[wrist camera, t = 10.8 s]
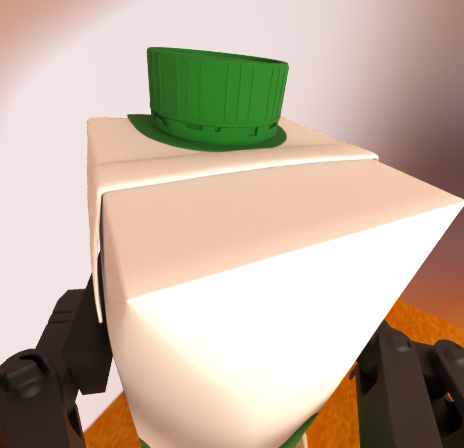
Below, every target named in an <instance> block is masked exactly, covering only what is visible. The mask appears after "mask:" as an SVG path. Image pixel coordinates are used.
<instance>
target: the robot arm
mask: <svg viewBox="0 0 464 448" xmlns="http://www.w3.org/2000/svg"><path fill="white" fill-rule="evenodd" d="M97 276H98V285H99V294H100V303H101V312H102V323H100V322H99V318H98V313H97V308H96V302H95V294H94V286H93V277H92V273H91V276H90V279H89V281H88V284H87V287H86V289H75V290H68V291H67V292H66V293H65V294H64V295H63V296H62V297H61V298H60V299H59V300H58V302H57V304H56V306H55V308H54V310H53V312H52V313H53V314H52V315H51V316H50V318H49V321H48V324H47V325H46V327H45V329H44V331H43V333H42V336H41V338H40V340H39V342H38V344H37V346H36V348H35V349H27V350H24V351H21V352H18V353H17V354H15V355H13V356H11V357H9V358H8V359H7V360H6V361H5V362H4V363H3V364H1V365H0V448H86V445H85V440H84V436H83V431H82V426H81V422H80V417H79V412H78V408H77V405H76V403H75V400H76V397H77V394H78V390H79V389H80V391H81V393H82V395H87V394H95V393H102V392H105V390H106V386H107V381H108V376H109V371H110V367H111V362H112V358H113V353H112V348H111V343H110V339H109V334H108V327H107V320H106V311H105V300H104V288H103V277H102V262H101V250H100V252H99V255H98V258H97ZM356 361H357V365H356V366H355V367H354V369H353V370H352V372H351V373H350V375H349V379H350V380H352V379H353V377H354V376H356V380H355V381H356V391H357V406H358V420H359V435H360V448H464V348H463V347H461V346H460V345H458V344H456V343H454V342H452V341H449V340H445V339H444V340H439V341H437V342H436V343H435V344H434V345H433V346H432V345H427V344H423V343H418V342H414V341H411V340H410V339H409V338H408V337H407V336H406V335H405V334H403V333H402V332H400V331H398V330H396V329H393V328H391V327H390V326H389V325H388V323H387V322H386V320H385V319H383V320H382V322H381V323H380V325H379V326H378V328H377V329H376V331H375V332H374V334H373V335H372V337H371V338H370V340H369V341H368V342H367V344H366V345H365V347H364V348H363V350H362V351H361V353H360V354H359V356H358V357H357V359H356ZM447 393H449V394H450V395H451V397H452V399H453V401H452V400H451V399H450V398H449V396H448V394H447Z"/></svg>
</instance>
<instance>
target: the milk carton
mask: <svg viewBox="0 0 464 448" xmlns="http://www.w3.org/2000/svg"><path fill="white" fill-rule="evenodd" d="M147 62H148V76H149V92H150V108H151V115H144V114H128V115H127V116H128V118H105V117H104V118H89V119H88V120H87V136H88V155H87V156H88V157H87V183H88V184H87V185H88V212H89V225H90V249H91V264H92V277H93V286H94V294H95V302H96V308H97V313H98V318H99V322H100V323H102V312H101V303H100V294H99V285H98V276H97V247H98V233H99V238H100V250H101V262H102V277H103V288H104V300H105V311H106V320H107V327H108V334H109V339H110V343H111V348H112V353H113V357H114V360H115V364H116V367H117V370H118V373H119V376H120V379H121V383H122V386H123V389H124V392H125V396H126V399H127V402H128V405H129V408H130V412H131V415H132V418H133V421H134V424H135V427H136V431H137V434H138V437H139V440H140V442H141V445H142V447H143V448H295V446H296V445H297V443H298V442H299V440H300V439H301V438H302V436H303V435H304V433H305V432H306V430H307V429H308V428H309V426H310V425H311V423H312V422H313V420H314V419H315V418H316V416H317V415H318V413H319V412H320V410H321V409H322V408H323V406H324V405H325V403H326V402H327V400H328V399H329V398H330V396H331V395H332V393H333V392H334V390H335V389H336V388H337V386H338V385H339V383H340V382H341V380H342V379H343V378H344V376H345V375H346V373H347V372H348V370H349V369H350V368H351V366H352V365H353V363H354V362H355V360H356V359H357V357H358V356H359V354H360V353H361V351H362V350H363V348H364V347H365V345H366V344H367V342H368V341H369V340H370V338H371V337H372V335H373V334H374V332H375V331H376V329H377V328H378V326H379V325H380V323H381V322H382V320H383V319H384V317H385V316H386V315H387V313H388V312H389V310H390V309H391V307H392V306H393V304H394V303H395V301H396V300H397V298H398V297H399V295H400V294H401V293H402V291H403V290H404V289H405V287H406V285H407V284H408V283H409V281H410V280H411V279H412V277H413V276H414V274H415V273H416V271H417V270H418V269H419V267H420V266H421V265H422V263H423V262H424V260H425V259H426V257H427V256H428V255H429V253H430V252H431V250H432V249H433V247H434V246H435V245H436V243H437V242H438V240H439V239H440V238H441V236H442V235H443V233H444V232H445V231H446V229H447V228H448V226H449V225H450V223H451V222H452V221H453V219H454V218H455V216H456V215H457V214H458V212H459V211H460V210H461V209H462V207H463V206H464V200H463V199H461V198H459V197H456V196H454V195H452V194H450V193H448V192H445V191H443V190H440V189H438V188H436V187H434V186H432V185H430V184H427V183H425V182H423V181H420V180H418V179H416V178H414V177H411V176H409V175H407V174H405V173H403V172H400V171H398V170H396V169H394V168H391V167H389V166H387V165H385V164H382V163H380V162H378V156H377V155H376V154H374V153H372V152H370V151H368V150H365V149H363V148H360V147H358V146H355V145H353V144H349V143H343V142H341V141H339V140H336V139H334V138H332V137H329V136H327V135H324V134H322V133H320V132H317V131H315V130H313V129H310V128H308V127H306V126H303V125H301V124H298V123H296V122H294V121H291V120H289V119H286V118H284V117H281V116H280V114H281V107H282V103H283V97H284V91H285V86H286V80H287V74H288V69H289V67H288V63H286V62H283V61H278V60H272V59H267V58H260V57H253V56H246V55H238V54H229V53H221V52H212V51H202V50H191V49H180V48H165V47H150V48H148V49H147Z"/></svg>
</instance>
